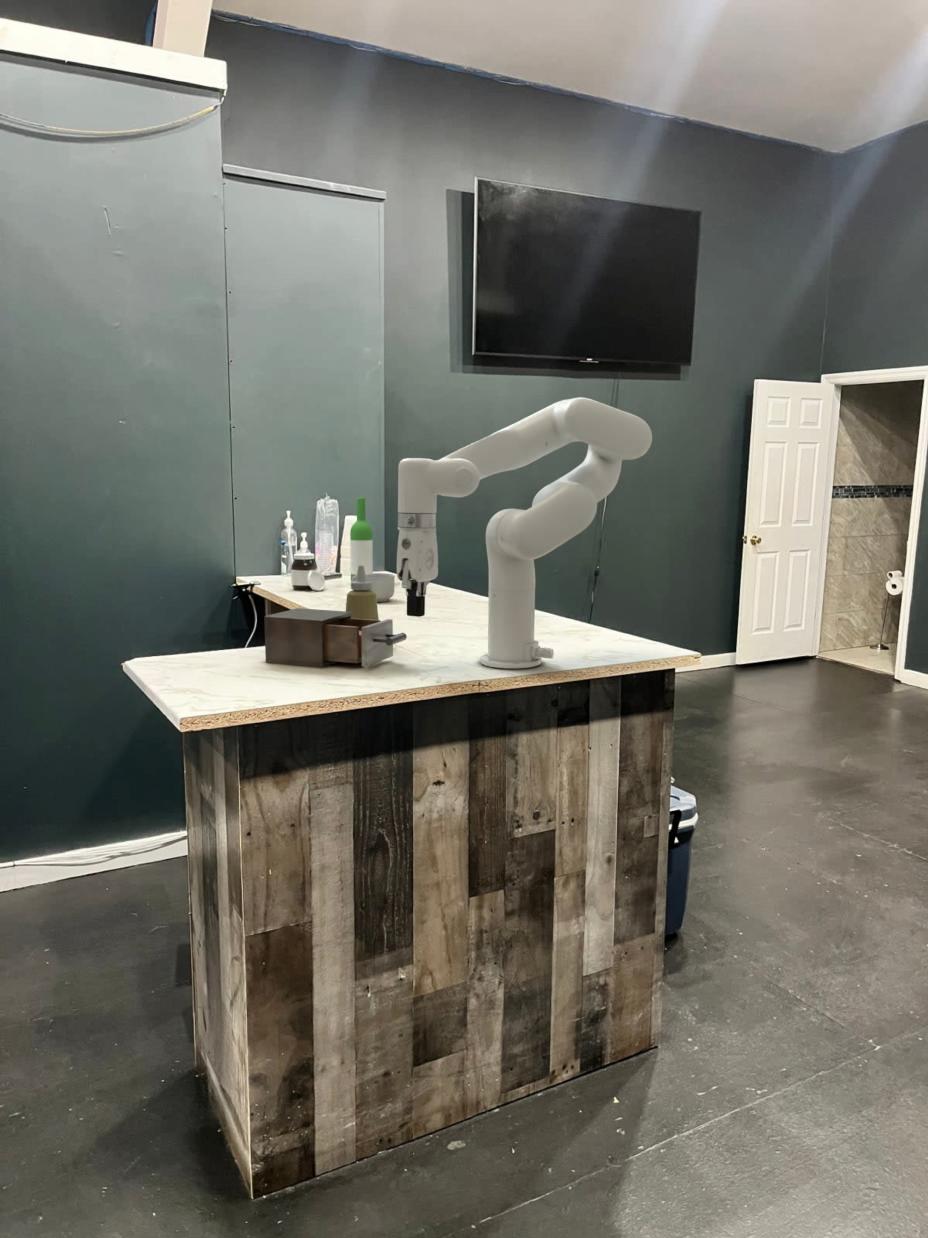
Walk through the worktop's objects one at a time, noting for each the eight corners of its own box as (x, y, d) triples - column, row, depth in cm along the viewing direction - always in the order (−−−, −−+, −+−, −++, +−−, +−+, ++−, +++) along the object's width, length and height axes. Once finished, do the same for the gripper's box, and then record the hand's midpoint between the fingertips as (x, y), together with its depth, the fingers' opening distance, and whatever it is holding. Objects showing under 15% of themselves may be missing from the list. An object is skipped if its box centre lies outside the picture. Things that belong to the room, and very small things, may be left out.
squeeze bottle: (373, 648, 205) (373, 568, 202) (339, 647, 207) (338, 567, 204) (384, 642, 213) (383, 564, 210) (350, 640, 214) (349, 563, 212)
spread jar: (298, 587, 314) (297, 552, 313) (330, 587, 313) (329, 553, 311) (286, 591, 303) (286, 556, 301) (320, 592, 301) (319, 556, 299)
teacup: (402, 600, 283) (401, 574, 282) (380, 604, 274) (380, 577, 273) (366, 596, 290) (366, 571, 289) (344, 600, 281) (343, 574, 280)
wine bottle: (348, 584, 322) (346, 498, 317) (354, 582, 329) (353, 497, 325) (369, 585, 320) (368, 498, 316) (375, 582, 328) (374, 497, 323)
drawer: (412, 658, 190) (411, 620, 189) (387, 668, 180) (386, 629, 179) (340, 651, 197) (340, 615, 196) (312, 661, 186) (311, 623, 185)
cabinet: (353, 656, 196) (352, 611, 195) (322, 667, 185) (321, 620, 183) (298, 651, 201) (297, 608, 200) (265, 662, 190) (264, 616, 188)
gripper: (418, 524, 171) (416, 622, 174) (449, 521, 185) (448, 612, 187) (382, 523, 174) (381, 619, 177) (416, 520, 187) (414, 609, 190)
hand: (415, 615), depth 182 cm, fingers closed
